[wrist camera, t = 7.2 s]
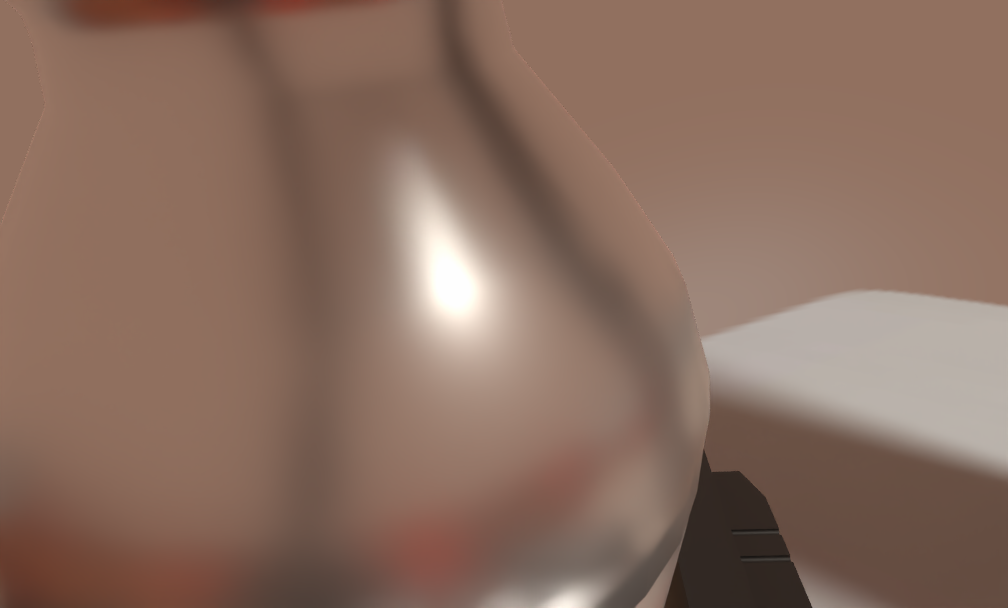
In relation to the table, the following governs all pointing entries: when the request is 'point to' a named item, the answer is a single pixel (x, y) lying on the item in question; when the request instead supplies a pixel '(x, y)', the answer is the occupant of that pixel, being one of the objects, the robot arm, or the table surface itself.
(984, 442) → the table surface
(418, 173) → the plastic bottle
